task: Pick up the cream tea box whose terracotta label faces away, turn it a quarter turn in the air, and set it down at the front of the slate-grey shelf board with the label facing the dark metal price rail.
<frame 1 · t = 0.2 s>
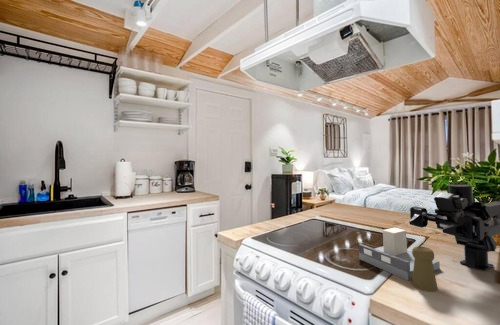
hand: (425, 226, 70), 17 cm above the counter, tool horizontal, fingers open, 9 cm apart
shelf: (397, 263, 83), on the counter
tea box: (395, 251, 87), point 2 cm above the counter, touching shelf
olive pawn: (424, 286, 68), on the counter
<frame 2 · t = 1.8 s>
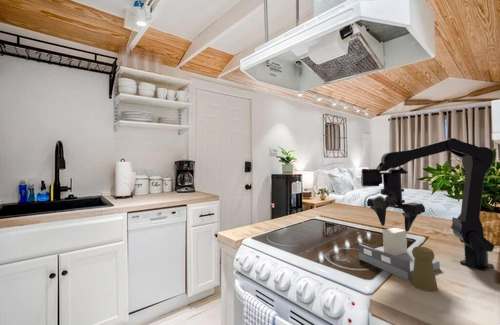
hand: (394, 228, 87), 11 cm above the counter, tool pointing down, fingers open, 9 cm apart
nothing on the counter moved.
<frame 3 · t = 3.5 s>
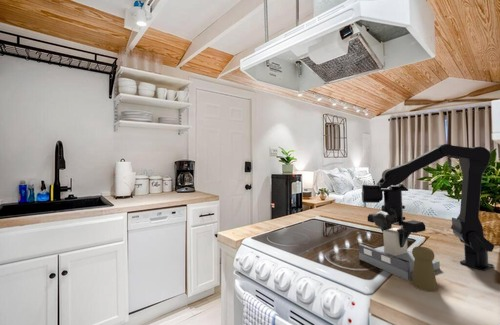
hand: (394, 245, 87), 5 cm above the counter, tool pointing down, fingers closed on tea box, 5 cm apart
tea box: (395, 252, 87), point 2 cm above the counter, touching gripper, shelf
everything else where it was.
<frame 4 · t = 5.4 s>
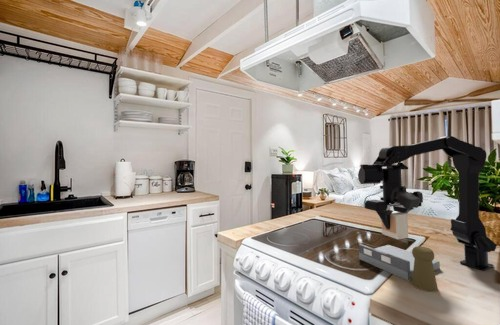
hand: (394, 228, 81), 13 cm above the counter, tool pointing down, fingers closed on tea box, 5 cm apart
tea box: (394, 235, 81), point 11 cm above the counter, touching gripper
everything else where it was.
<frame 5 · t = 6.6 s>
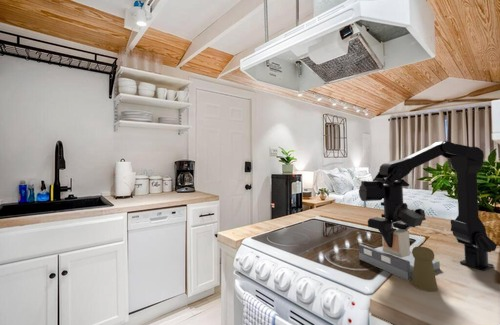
hand: (395, 245, 80), 8 cm above the counter, tool pointing down, fingers closed on tea box, 5 cm apart
tea box: (396, 253, 80), point 5 cm above the counter, touching gripper
everything else where it was.
when the fingers open (7 cm above the counter, at t = 7.5 s): tea box drops 2 cm, resting on shelf.
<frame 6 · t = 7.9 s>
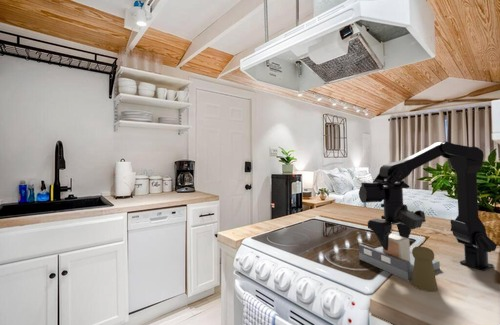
hand: (395, 247, 80), 7 cm above the counter, tool pointing down, fingers open, 9 cm apart
tea box: (396, 260, 80), point 2 cm above the counter, touching shelf
everything else where it was.
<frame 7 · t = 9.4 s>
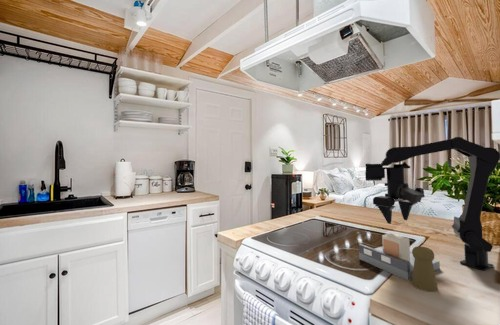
hand: (397, 221, 89), 13 cm above the counter, tool pointing down, fingers open, 9 cm apart
nothing on the counter moved.
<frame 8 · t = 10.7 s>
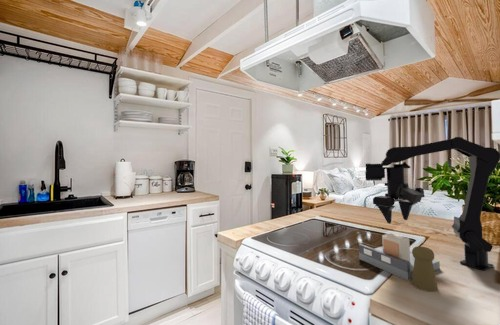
hand: (397, 221, 89), 13 cm above the counter, tool pointing down, fingers open, 9 cm apart
nothing on the counter moved.
at the end: tea box 0.1 cm from the target spot on the shelf, point 2.5 cm above the shelf's base; tea box tilted 0°; the gripper is holding nothing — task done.
